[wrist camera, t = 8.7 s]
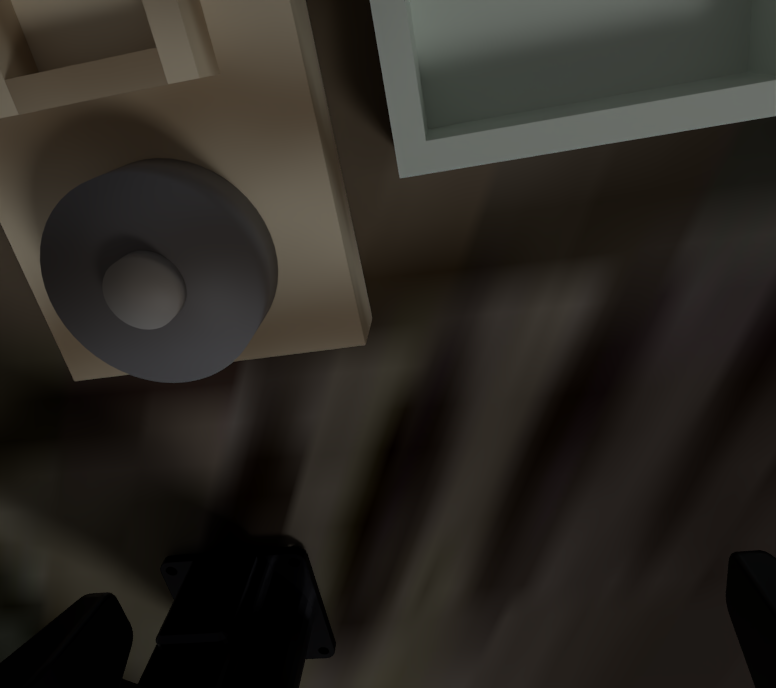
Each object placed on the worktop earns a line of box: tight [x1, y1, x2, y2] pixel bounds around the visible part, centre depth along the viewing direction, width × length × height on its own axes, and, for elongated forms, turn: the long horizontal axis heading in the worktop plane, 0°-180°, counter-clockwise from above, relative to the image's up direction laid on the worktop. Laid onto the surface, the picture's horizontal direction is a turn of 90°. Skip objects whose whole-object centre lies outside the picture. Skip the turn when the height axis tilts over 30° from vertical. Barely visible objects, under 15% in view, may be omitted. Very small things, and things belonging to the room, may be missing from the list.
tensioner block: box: [0, 0, 372, 383], centre depth 16 cm, size 14×10×5 cm
